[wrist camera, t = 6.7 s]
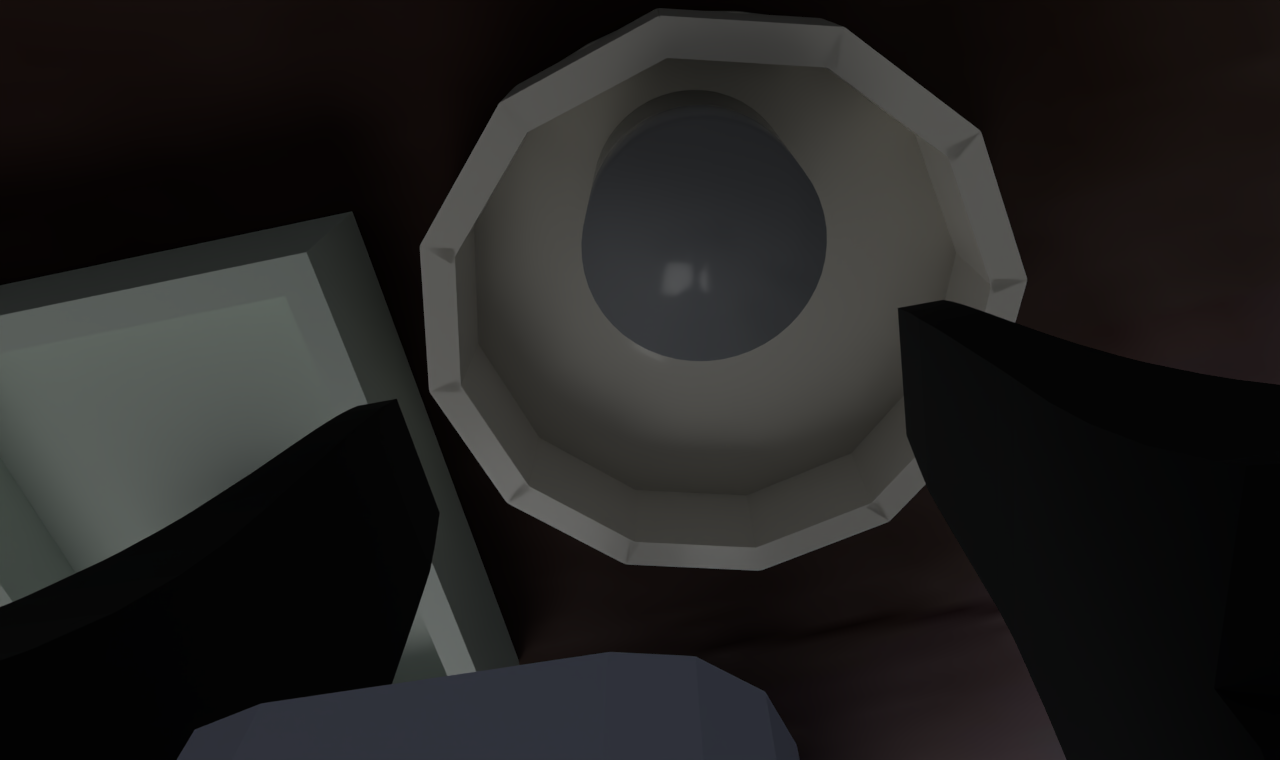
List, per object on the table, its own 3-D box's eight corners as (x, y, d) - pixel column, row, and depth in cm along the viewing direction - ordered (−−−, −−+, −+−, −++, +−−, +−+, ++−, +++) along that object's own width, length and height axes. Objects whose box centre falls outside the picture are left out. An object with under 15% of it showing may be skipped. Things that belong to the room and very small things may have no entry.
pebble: (832, 166, 18) (878, 218, 15) (713, 320, 20) (728, 400, 16) (666, 46, 17) (673, 70, 14) (555, 219, 19) (535, 282, 15)
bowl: (1077, 215, 20) (1146, 257, 17) (758, 565, 24) (772, 640, 22) (633, -122, 17) (631, -136, 14) (367, 352, 21) (328, 410, 19)
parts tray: (519, 661, 26) (504, 742, 23) (174, 714, 27) (123, 797, 25) (352, 210, 20) (306, 252, 17) (-91, 304, 21) (-199, 356, 18)
